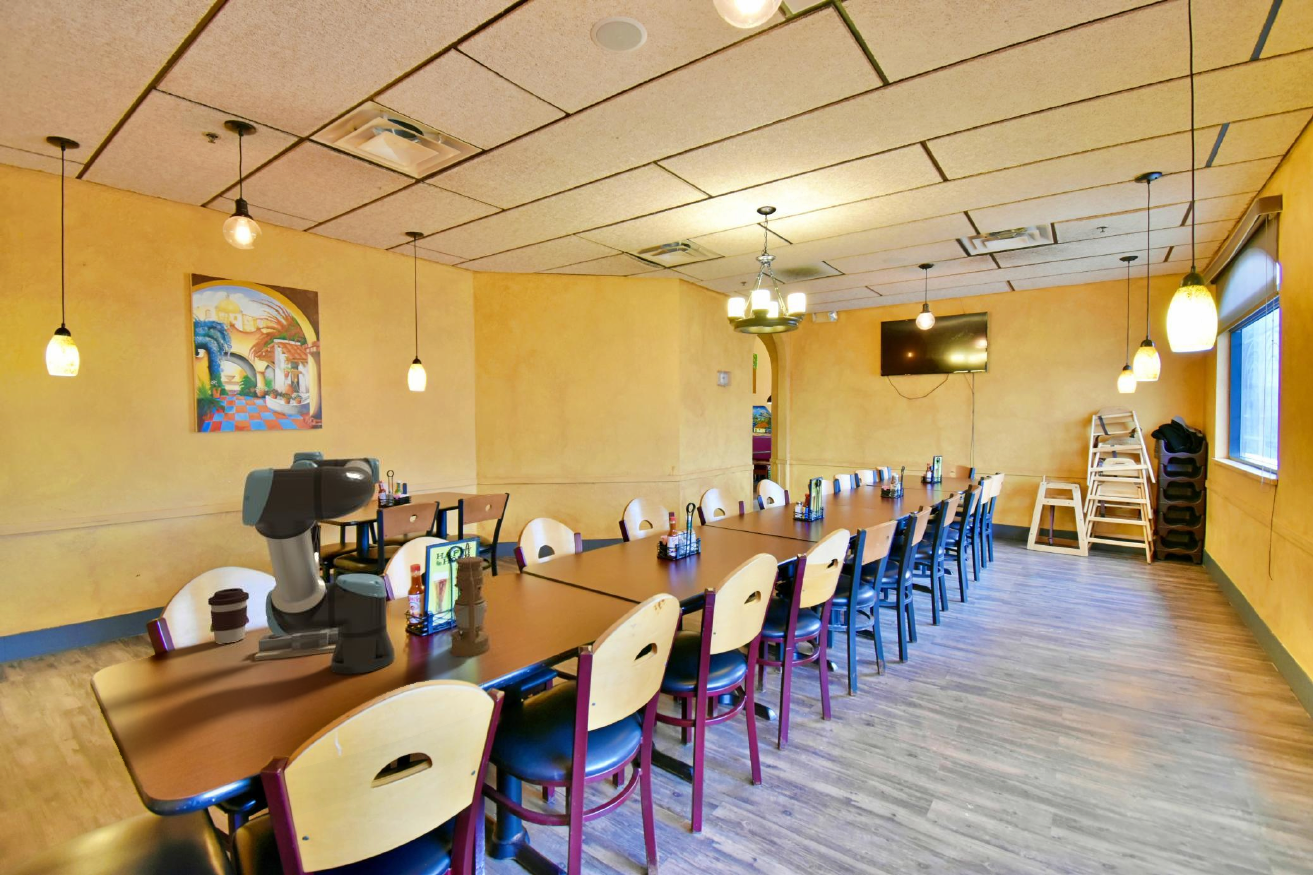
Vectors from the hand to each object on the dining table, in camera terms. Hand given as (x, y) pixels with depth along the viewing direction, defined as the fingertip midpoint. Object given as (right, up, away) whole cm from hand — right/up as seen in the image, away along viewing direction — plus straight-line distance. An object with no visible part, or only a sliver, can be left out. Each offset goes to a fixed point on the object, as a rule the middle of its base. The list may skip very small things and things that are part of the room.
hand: (312, 587), depth 173 cm
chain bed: (0, -17, 0) cm, 17 cm away
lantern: (+47, -17, -4) cm, 50 cm away
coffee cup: (-29, -18, +8) cm, 35 cm away
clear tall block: (0, -2, 0) cm, 2 cm away
